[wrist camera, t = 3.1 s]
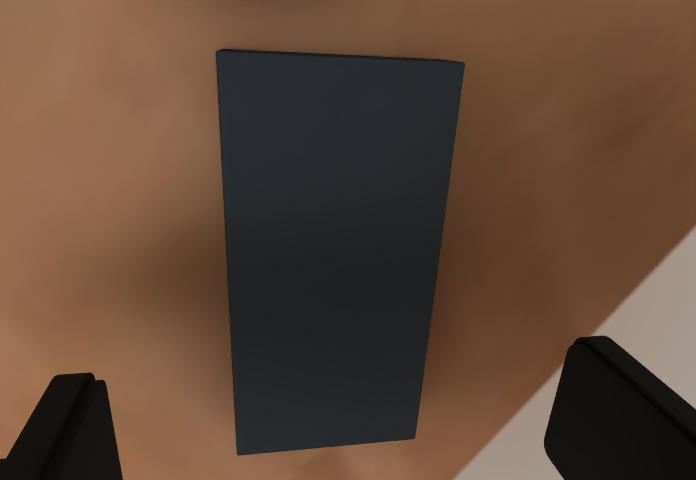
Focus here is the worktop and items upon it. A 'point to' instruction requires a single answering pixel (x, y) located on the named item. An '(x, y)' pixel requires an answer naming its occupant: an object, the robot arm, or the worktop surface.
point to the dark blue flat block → (332, 239)
